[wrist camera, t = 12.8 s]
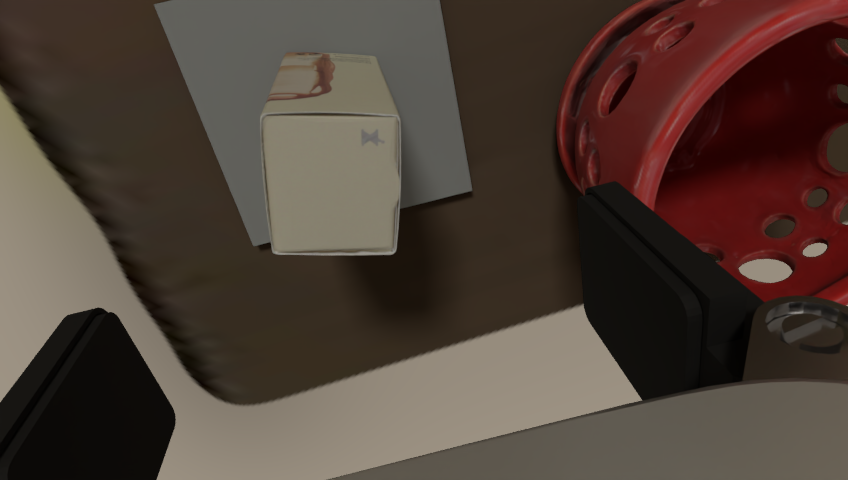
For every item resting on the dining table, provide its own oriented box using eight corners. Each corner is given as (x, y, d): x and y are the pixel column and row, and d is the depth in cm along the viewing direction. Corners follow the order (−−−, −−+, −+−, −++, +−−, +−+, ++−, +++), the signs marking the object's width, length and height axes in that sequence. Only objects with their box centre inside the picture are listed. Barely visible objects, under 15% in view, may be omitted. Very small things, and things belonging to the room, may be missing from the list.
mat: (427, -60, 24) (429, -60, 23) (469, 186, 30) (472, 190, 29) (157, 3, 23) (154, 4, 23) (254, 241, 29) (253, 246, 29)
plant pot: (680, -95, 25) (939, -133, 14) (794, 101, 30) (1040, 177, 20) (475, 112, 28) (565, 206, 17) (613, 256, 33) (745, 393, 23)
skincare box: (281, 50, 24) (256, 102, 16) (378, 54, 25) (407, 106, 16) (287, 160, 27) (268, 259, 18) (376, 161, 27) (399, 257, 19)
